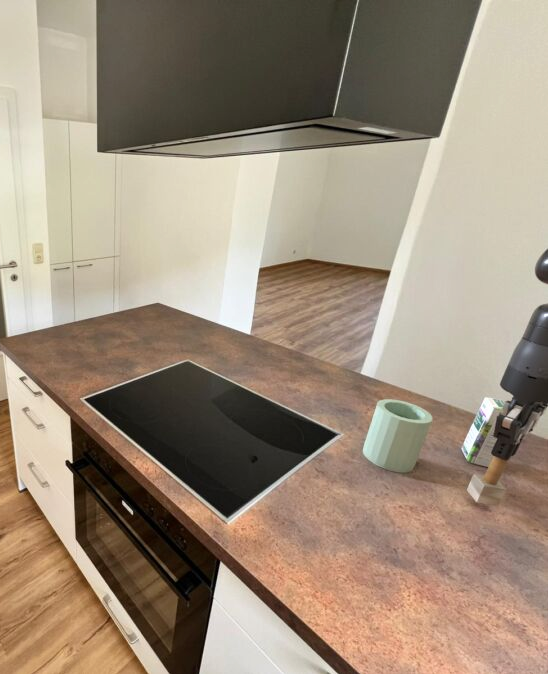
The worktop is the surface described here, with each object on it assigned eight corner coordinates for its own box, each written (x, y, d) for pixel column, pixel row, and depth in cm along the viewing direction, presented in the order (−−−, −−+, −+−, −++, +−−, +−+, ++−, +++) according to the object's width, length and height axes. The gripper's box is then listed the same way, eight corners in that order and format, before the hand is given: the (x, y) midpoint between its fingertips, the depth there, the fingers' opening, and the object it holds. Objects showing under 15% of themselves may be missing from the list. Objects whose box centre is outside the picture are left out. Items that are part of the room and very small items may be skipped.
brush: (487, 493, 69) (518, 428, 64) (498, 506, 66) (532, 438, 61) (466, 490, 70) (495, 425, 64) (476, 502, 67) (507, 435, 62)
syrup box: (459, 448, 86) (482, 395, 81) (494, 456, 83) (520, 402, 78) (467, 462, 82) (492, 407, 76) (503, 471, 79) (532, 415, 73)
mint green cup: (403, 449, 86) (420, 403, 81) (421, 477, 78) (441, 426, 73) (357, 442, 89) (371, 396, 84) (370, 467, 80) (386, 418, 76)
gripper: (526, 351, 64) (490, 432, 70) (493, 368, 58) (456, 455, 65) (594, 368, 58) (547, 455, 64) (563, 388, 52) (516, 482, 58)
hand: (502, 454), depth 64 cm, fingers closed on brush, 2 cm apart
